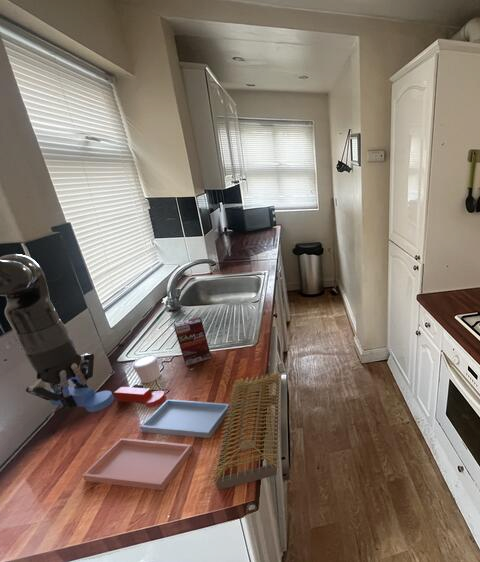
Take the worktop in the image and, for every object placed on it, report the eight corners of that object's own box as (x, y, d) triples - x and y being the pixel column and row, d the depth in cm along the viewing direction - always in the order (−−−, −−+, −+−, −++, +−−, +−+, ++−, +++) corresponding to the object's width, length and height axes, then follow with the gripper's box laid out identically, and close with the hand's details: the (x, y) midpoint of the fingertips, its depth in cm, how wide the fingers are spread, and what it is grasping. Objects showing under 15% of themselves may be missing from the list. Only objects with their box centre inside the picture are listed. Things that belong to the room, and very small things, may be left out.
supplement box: (185, 366, 110) (173, 328, 104) (184, 360, 114) (173, 322, 108) (212, 358, 114) (201, 321, 108) (210, 352, 118) (200, 315, 112)
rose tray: (85, 481, 71) (81, 475, 71) (123, 443, 81) (120, 437, 80) (163, 490, 69) (160, 484, 68) (193, 450, 78) (191, 444, 77)
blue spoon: (46, 408, 74) (39, 397, 72) (68, 393, 78) (63, 382, 77) (99, 412, 72) (94, 401, 70) (119, 396, 77) (114, 385, 75)
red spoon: (114, 404, 94) (109, 395, 92) (128, 392, 99) (125, 383, 97) (156, 407, 92) (153, 398, 91) (169, 395, 97) (166, 386, 95)
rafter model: (235, 388, 99) (232, 373, 96) (282, 379, 102) (279, 364, 100) (212, 495, 67) (206, 476, 65) (280, 477, 71) (276, 458, 68)
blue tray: (142, 432, 84) (139, 426, 83) (169, 404, 93) (167, 399, 92) (210, 438, 81) (208, 432, 81) (231, 409, 91) (229, 403, 90)
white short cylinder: (167, 372, 108) (161, 355, 105) (150, 385, 101) (143, 368, 99) (151, 369, 109) (145, 353, 106) (133, 382, 103) (126, 365, 100)
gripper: (65, 326, 75) (93, 382, 82) (-6, 361, 63) (33, 424, 69) (92, 327, 74) (117, 383, 81) (25, 363, 62) (62, 426, 68)
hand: (78, 402), depth 75 cm, fingers closed on blue spoon, 2 cm apart
